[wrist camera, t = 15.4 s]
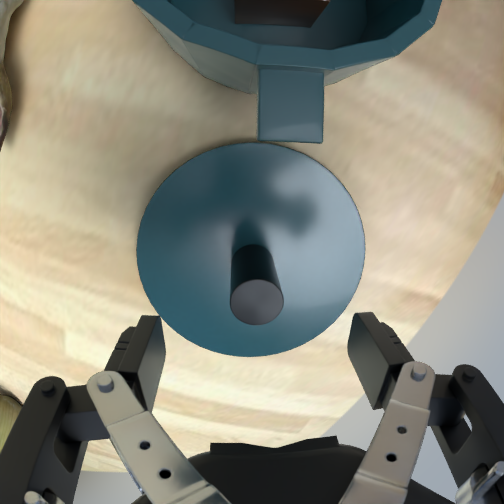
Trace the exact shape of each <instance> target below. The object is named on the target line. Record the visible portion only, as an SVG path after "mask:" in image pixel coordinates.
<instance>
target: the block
mask: <svg viewBox="0 0 504 504" xmlns="http://www.w3.org/2000/svg"><path fill="white" fill-rule="evenodd" d="M329 3H330V0H234V10H235V24H267V25H285V26H298V27H308V28H311V27H312V25H313V24H314V22H315V21H316V20H317V18H318V17H319V16H320V14H321V13H322V12H323V11H324V9H325V8H326V7H327V5H328V4H329Z"/></svg>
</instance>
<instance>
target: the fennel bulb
mask: <svg viewBox="0 0 504 504" xmlns="http://www.w3.org/2000/svg"><path fill="white" fill-rule="evenodd" d="M21 408H22V406H21V405H20V404H19V403H18V402H17V401H15V400H14V399H13V398H11V397H9V396H4V395H1V394H0V452H1V450H2V448H3V446H4V444H5V441H6V439H7V437H8V435H9V433H10V431H11V429H12V426H13V424H14V422H15V420H16V418H17V416H18V414H19V412H20V410H21Z"/></svg>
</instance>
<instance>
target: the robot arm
mask: <svg viewBox="0 0 504 504" xmlns="http://www.w3.org/2000/svg"><path fill="white" fill-rule="evenodd" d="M165 355H166V349H165V342H164V335H163V329H162V322H161V318H160V316H148V315H142V316H141V318H140V320H139V322H138V324H137V326H136V327H129V328H128V329H126V330H125V331H124V332H123V333H122V334H121V336H120V338H119V340H118V343H117V344H116V346H115V350H113V352H112V354H111V356H110V359H109V361H108V363H107V365H106V367H105V369H104V371H102V372H98V373H96V374H94V375H93V376H92V377H91V378H90V379H89V380H88V382H87V385H81V386H72V387H66V385H65V382H64V381H63V380H62V379H61V378H59V377H55V376H49V377H45V378H42V379H40V380H39V381H37V382H36V383H35V384H34V386H33V387H32V389H31V391H30V393H29V395H28V397H27V399H26V401H25V403H24V404H23V406H22V408H21V410H20V412H19V414H18V416H17V418H16V420H15V422H14V424H13V426H12V429H11V431H10V433H9V435H8V437H7V439H6V441H5V444H4V446H3V448H2V450H1V452H0V504H73V499H74V495H75V491H76V487H77V483H78V479H79V475H80V471H81V467H82V463H83V459H84V456H85V452H86V449H87V445H88V441H90V440H100V439H110V441H111V443H112V444H113V446H114V448H115V450H116V452H117V453H118V455H119V457H120V459H121V460H122V462H123V464H124V466H125V467H126V469H127V471H128V472H129V474H130V475H131V477H132V479H133V481H134V482H135V484H136V485H137V487H138V489H139V490H140V491H141V493H142V496H140V497H139V498H138V499H137V500H135V501H134V502H133V503H132V504H455V503H454V502H452V501H450V500H448V499H446V498H444V497H442V496H441V495H439V494H437V493H435V492H433V491H432V490H430V489H428V488H426V487H424V486H422V485H421V484H419V483H417V482H416V481H414V480H412V479H411V476H412V473H413V470H414V467H415V464H416V461H417V458H418V455H419V452H420V449H421V446H422V442H423V439H424V435H425V432H426V428H427V426H431V428H432V430H433V433H434V435H435V437H436V439H437V441H438V443H439V445H440V447H441V450H442V452H443V454H444V457H445V459H446V461H447V463H448V465H449V468H450V470H451V473H452V475H453V477H454V480H455V482H456V484H457V487H458V490H457V492H456V497H455V501H456V504H504V403H503V402H502V401H501V399H500V398H499V396H498V395H497V393H496V392H495V391H494V389H493V388H492V386H491V385H490V384H489V382H488V381H487V380H486V378H485V377H484V375H483V374H482V373H481V372H480V371H479V370H478V369H477V368H475V367H473V366H471V365H466V364H463V365H459V366H457V367H456V368H455V369H454V371H453V373H452V375H440V374H435V372H434V370H433V369H432V368H431V367H430V366H428V365H427V364H425V363H422V362H417V361H415V360H414V359H413V358H412V356H411V355H410V353H409V352H408V350H407V349H406V347H405V346H404V344H403V343H401V340H400V339H399V337H397V335H396V333H395V332H394V330H393V329H392V328H391V327H389V326H388V325H386V324H385V323H384V322H381V323H380V322H379V321H378V319H377V318H376V316H375V315H374V313H373V312H363V313H355V314H354V316H353V320H352V325H351V330H350V335H349V340H348V355H349V358H350V360H351V362H352V364H353V367H354V369H355V371H356V373H357V375H358V377H359V380H360V382H361V384H362V386H363V389H364V391H365V393H366V395H367V397H368V400H369V402H370V404H371V406H372V409H373V410H376V409H381V408H383V409H384V411H385V412H384V415H383V417H382V419H381V422H380V424H379V426H378V428H377V431H376V433H375V435H374V437H373V439H372V442H371V443H370V446H369V448H368V450H367V451H364V450H362V449H360V448H357V447H354V446H350V445H344V444H339V443H338V440H337V436H330V437H322V438H313V439H306V440H303V441H299V442H296V443H293V444H289V445H286V446H282V447H278V448H270V447H263V446H257V445H251V444H245V443H211V444H210V451H209V452H204V453H201V454H197V455H195V456H192V457H190V458H188V459H187V458H186V457H185V456H184V455H183V453H182V452H181V451H180V450H179V448H178V447H177V446H176V445H175V443H174V442H173V441H172V440H171V438H170V437H169V436H168V434H167V433H166V432H165V431H164V429H163V428H162V427H161V425H160V424H159V423H158V421H157V420H156V418H155V417H154V416H153V414H152V409H153V405H154V401H155V397H156V393H157V389H158V385H159V381H160V377H161V374H162V370H163V366H164V362H165ZM465 414H466V415H467V417H468V418H469V420H470V422H471V424H472V432H471V430H470V428H469V426H468V425H467V423H466V421H465V419H464V418H463V417H464V415H465Z"/></svg>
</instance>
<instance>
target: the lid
mask: <svg viewBox="0 0 504 504" xmlns="http://www.w3.org/2000/svg"><path fill="white" fill-rule="evenodd" d="M136 251H137V265H138V270H139V275H140V279H141V282H142V285H143V288H144V291H145V293H146V295H147V297H148V299H149V301H150V303H151V304H152V306H153V307H154V308H155V310H156V311H157V313H158V314H159V315H160V316H161V318H162V319H163V320H164V321H165V322H166V323H167V324H168V325H169V326H170V327H171V328H172V329H173V330H175V331H176V332H177V333H178V334H180V335H181V336H183V337H184V338H186V339H187V340H189V341H191V342H192V343H194V344H196V345H198V346H200V347H203V348H205V349H208V350H210V351H214V352H217V353H221V354H225V355H232V356H240V357H257V356H267V355H273V354H278V353H281V352H285V351H288V350H291V349H293V348H296V347H298V346H301V345H303V344H305V343H306V342H308V341H310V340H312V339H314V338H315V337H316V336H318V335H319V334H321V333H322V332H323V331H325V330H326V329H327V328H328V327H329V326H330V325H331V324H333V323H334V322H335V321H336V319H337V318H338V317H339V316H340V315H341V314H342V313H343V311H344V310H345V308H346V307H347V305H348V304H349V303H350V301H351V299H352V297H353V295H354V293H355V291H356V289H357V287H358V284H359V281H360V279H361V275H362V271H363V266H364V259H365V236H364V230H363V225H362V221H361V218H360V215H359V212H358V209H357V207H356V205H355V203H354V201H353V199H352V197H351V196H350V194H349V193H348V191H347V190H346V188H345V187H344V186H343V184H342V183H341V182H340V181H339V180H338V179H337V178H336V177H335V176H334V175H333V174H332V173H331V172H330V171H329V170H328V169H327V168H325V167H324V166H323V165H321V164H320V163H319V162H317V161H316V160H314V159H312V158H310V157H309V156H307V155H305V154H303V153H301V152H298V151H295V150H293V149H290V148H287V147H283V146H279V145H274V144H269V143H257V142H248V143H235V144H230V145H225V146H221V147H218V148H215V149H212V150H209V151H206V152H204V153H202V154H200V155H198V156H196V157H194V158H192V159H190V160H189V161H187V162H186V163H184V164H183V165H182V166H180V167H179V168H178V169H176V170H175V171H174V172H173V173H172V174H171V175H170V176H169V177H168V178H167V179H166V180H165V181H164V182H163V183H162V184H161V185H160V187H159V188H158V189H157V191H156V192H155V193H154V195H153V197H152V198H151V200H150V202H149V204H148V205H147V207H146V210H145V212H144V215H143V217H142V220H141V223H140V228H139V232H138V238H137V249H136Z"/></svg>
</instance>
